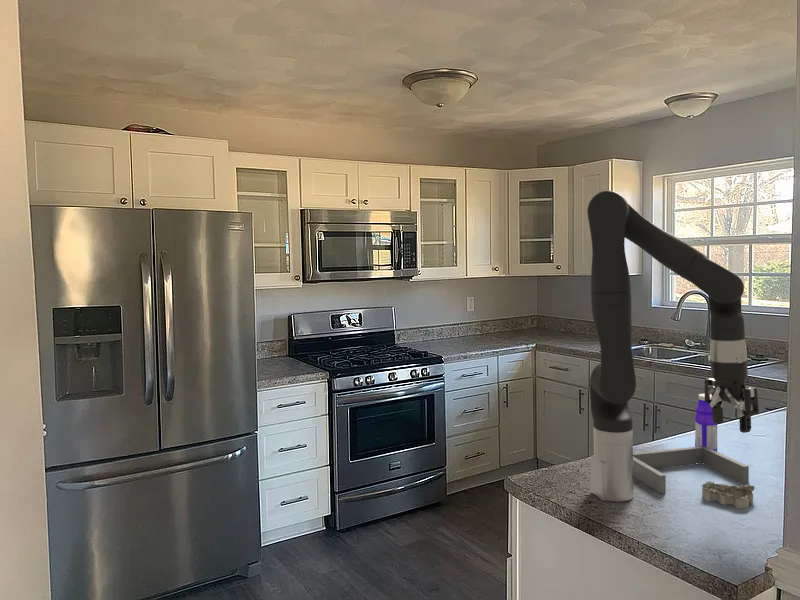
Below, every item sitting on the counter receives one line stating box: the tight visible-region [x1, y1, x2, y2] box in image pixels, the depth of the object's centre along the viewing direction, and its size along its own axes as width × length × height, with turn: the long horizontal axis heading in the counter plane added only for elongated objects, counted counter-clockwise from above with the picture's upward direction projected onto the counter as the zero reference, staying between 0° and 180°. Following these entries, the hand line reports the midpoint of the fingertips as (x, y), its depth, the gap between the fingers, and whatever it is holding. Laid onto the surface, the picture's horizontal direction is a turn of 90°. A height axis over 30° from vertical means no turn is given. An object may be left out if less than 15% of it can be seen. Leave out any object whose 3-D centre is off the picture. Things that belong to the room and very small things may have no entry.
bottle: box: [694, 393, 718, 452], centre depth 183 cm, size 7×6×17 cm
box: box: [633, 446, 750, 494], centre depth 166 cm, size 25×18×4 cm
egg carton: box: [700, 480, 755, 509], centre depth 150 cm, size 11×8×4 cm
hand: (731, 427), depth 144 cm, fingers open, 8 cm apart
